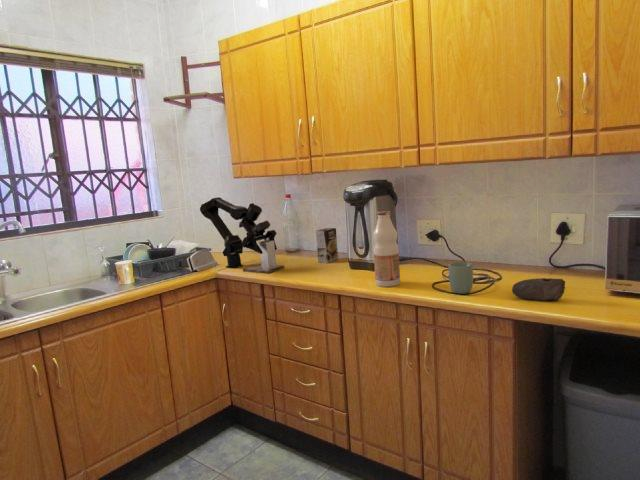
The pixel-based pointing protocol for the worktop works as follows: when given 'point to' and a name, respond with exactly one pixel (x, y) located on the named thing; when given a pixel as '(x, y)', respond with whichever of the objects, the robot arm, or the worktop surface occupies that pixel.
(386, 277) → the fruit juice
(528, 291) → the perforated stone tool
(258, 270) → the plate
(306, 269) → the worktop surface
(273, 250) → the aluminium block
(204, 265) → the grey metal block
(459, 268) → the cup
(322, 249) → the coffee box
